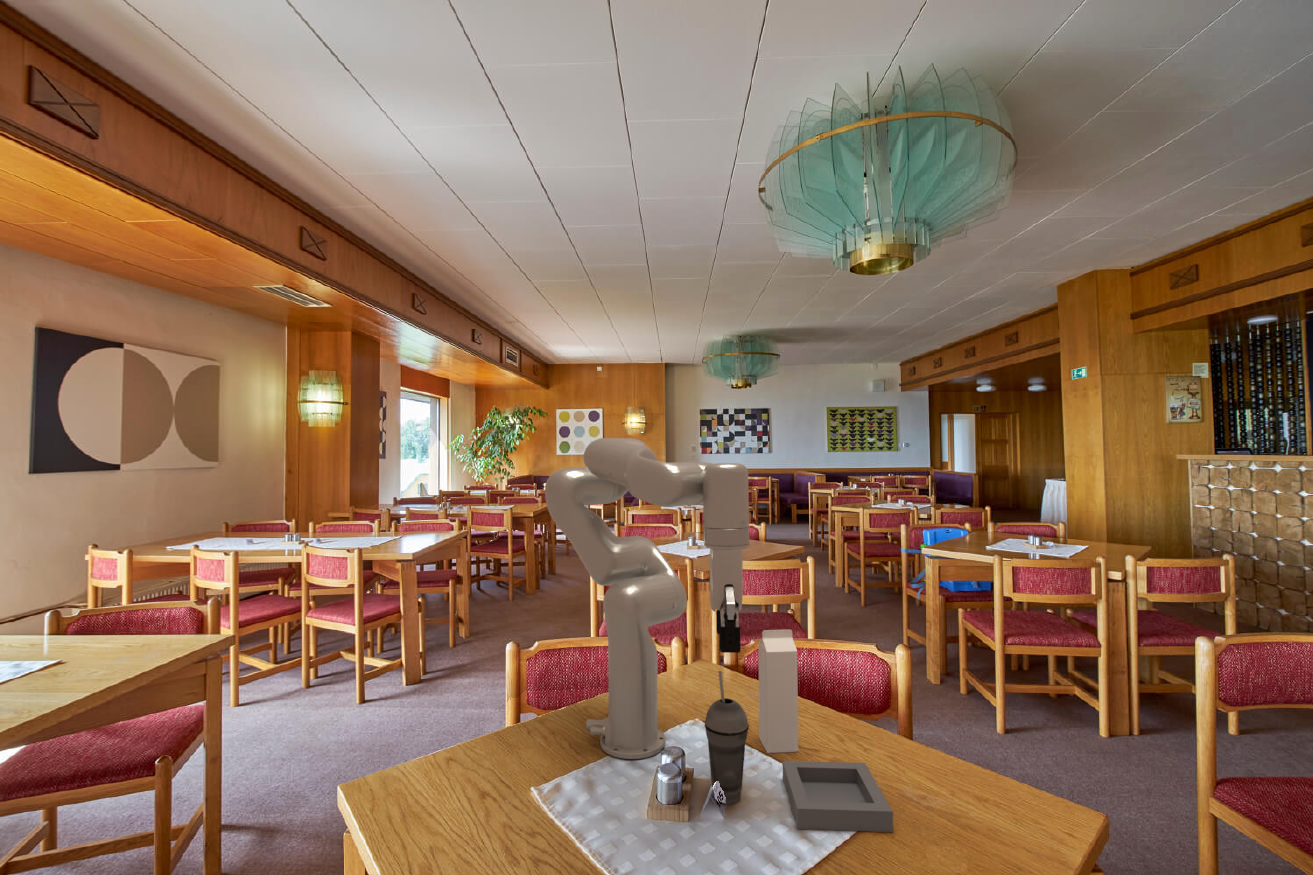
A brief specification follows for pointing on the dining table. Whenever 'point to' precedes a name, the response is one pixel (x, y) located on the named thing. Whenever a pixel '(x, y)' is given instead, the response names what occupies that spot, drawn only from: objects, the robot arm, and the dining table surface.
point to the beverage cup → (727, 744)
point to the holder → (836, 797)
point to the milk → (778, 692)
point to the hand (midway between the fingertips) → (728, 642)
